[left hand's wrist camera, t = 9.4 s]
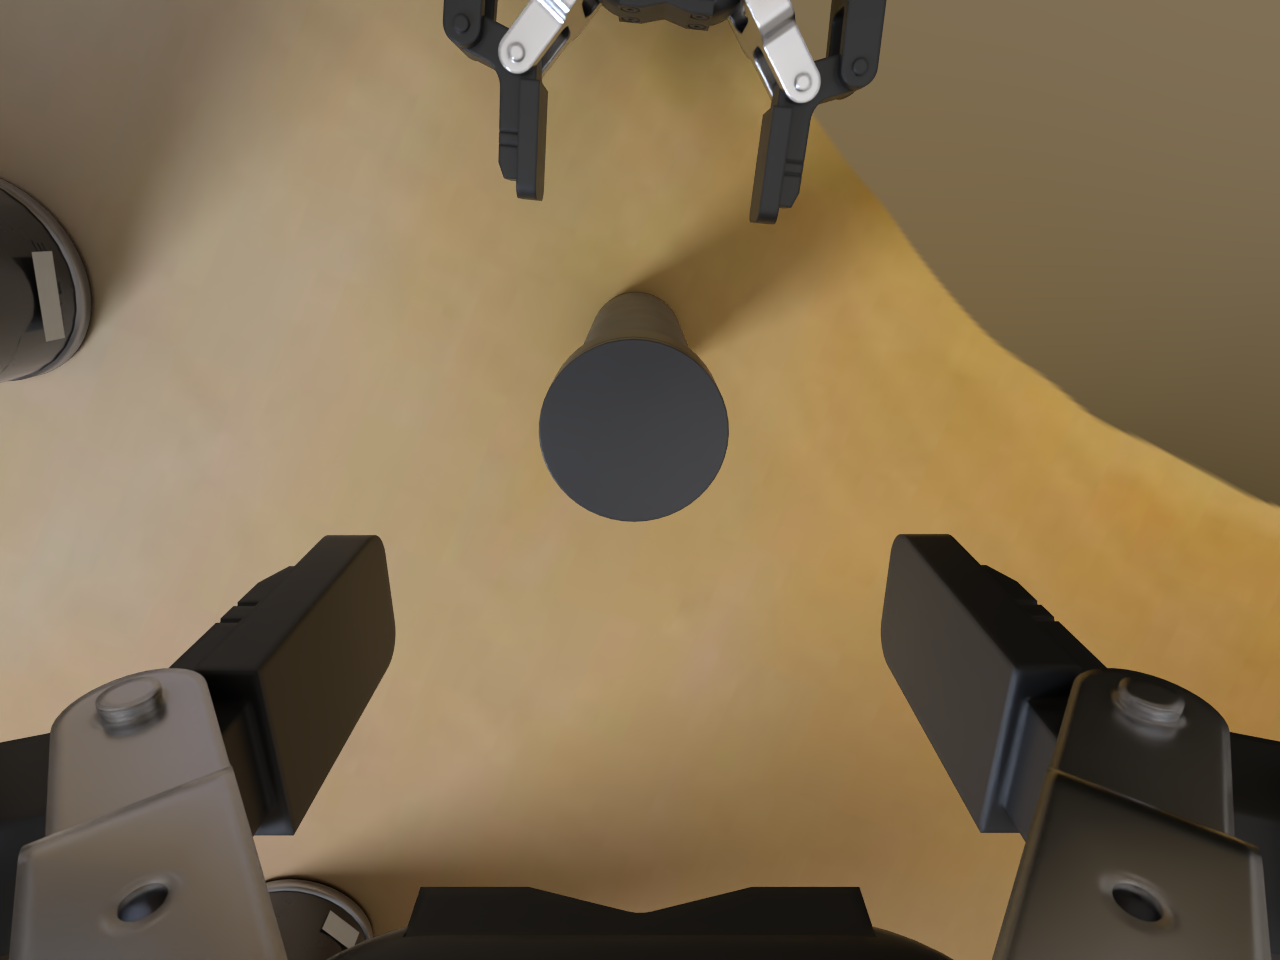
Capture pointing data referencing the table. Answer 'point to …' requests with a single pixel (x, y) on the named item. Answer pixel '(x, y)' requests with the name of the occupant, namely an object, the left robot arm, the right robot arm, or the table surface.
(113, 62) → the table surface
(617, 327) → the grey cylindrical tube
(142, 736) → the left robot arm
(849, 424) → the table surface
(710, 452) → the lid
